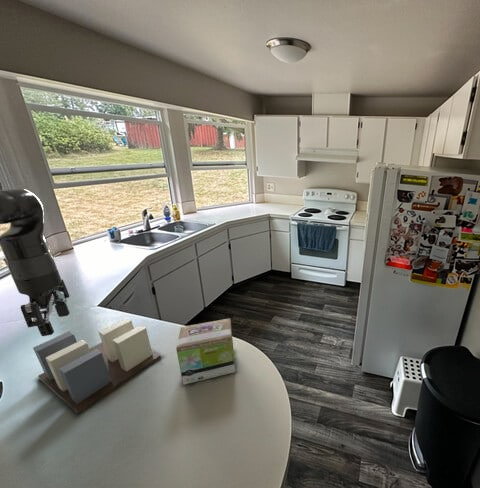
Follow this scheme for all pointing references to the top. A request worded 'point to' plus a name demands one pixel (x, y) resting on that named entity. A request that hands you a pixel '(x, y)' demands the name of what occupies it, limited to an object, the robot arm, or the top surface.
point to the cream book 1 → (66, 360)
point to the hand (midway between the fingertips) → (56, 324)
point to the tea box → (205, 350)
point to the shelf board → (117, 380)
